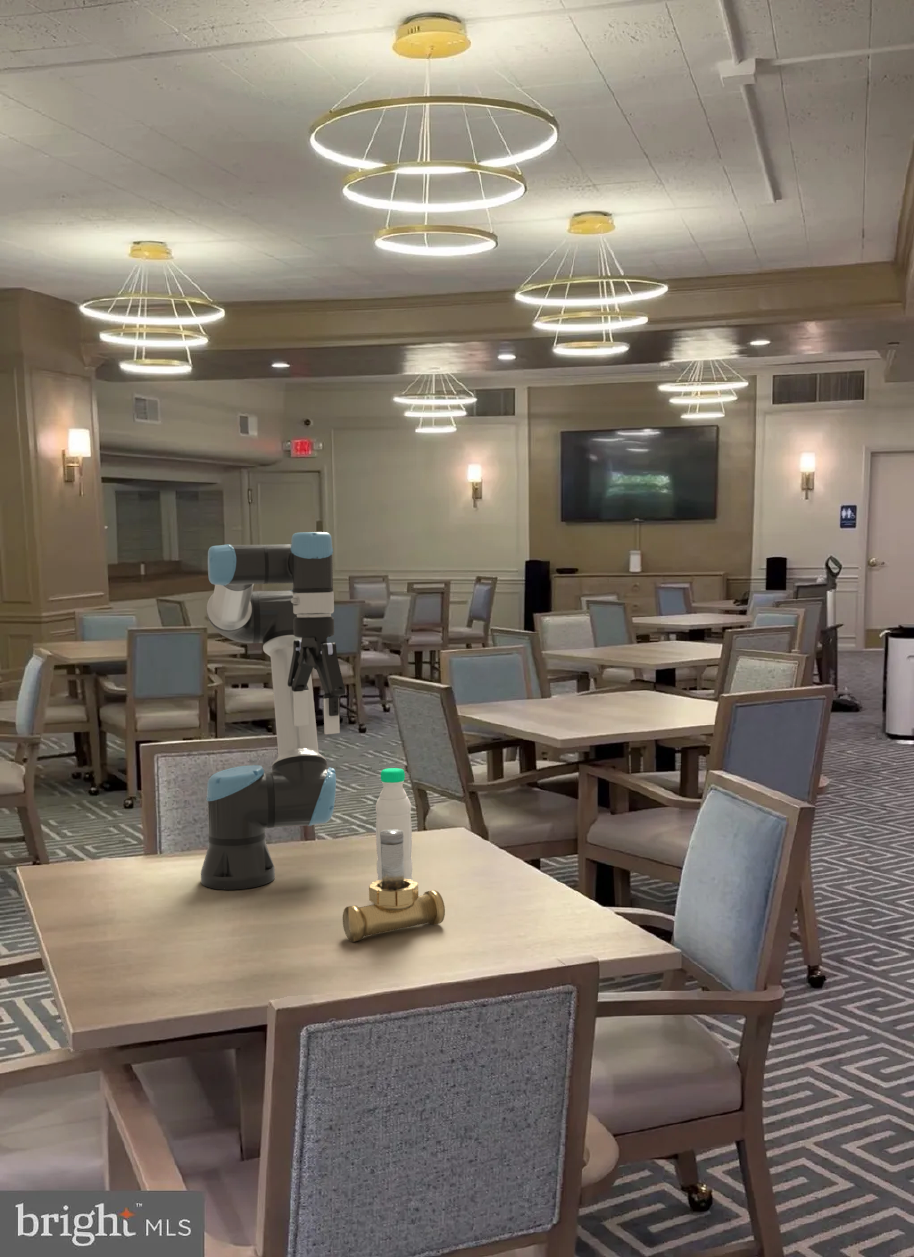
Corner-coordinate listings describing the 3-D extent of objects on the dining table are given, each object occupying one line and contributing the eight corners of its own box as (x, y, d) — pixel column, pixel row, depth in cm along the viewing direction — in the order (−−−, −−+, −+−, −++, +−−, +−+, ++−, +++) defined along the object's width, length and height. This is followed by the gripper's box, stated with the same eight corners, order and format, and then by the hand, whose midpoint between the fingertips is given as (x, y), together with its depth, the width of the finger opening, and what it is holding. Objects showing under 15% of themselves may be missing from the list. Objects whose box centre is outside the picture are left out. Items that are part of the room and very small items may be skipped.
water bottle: (408, 900, 220) (405, 773, 219) (373, 899, 222) (370, 772, 220) (416, 890, 227) (414, 766, 226) (382, 888, 229) (380, 765, 227)
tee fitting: (361, 947, 194) (360, 898, 193) (340, 934, 201) (339, 887, 200) (448, 929, 203) (447, 882, 202) (425, 917, 210) (424, 871, 209)
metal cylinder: (377, 898, 202) (376, 831, 201) (398, 893, 204) (396, 828, 203) (389, 903, 199) (387, 835, 198) (409, 899, 201) (407, 832, 200)
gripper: (268, 614, 219) (271, 723, 221) (323, 618, 198) (326, 739, 199) (304, 612, 223) (307, 720, 225) (362, 616, 202) (364, 735, 203)
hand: (316, 729), depth 212 cm, fingers open, 13 cm apart
